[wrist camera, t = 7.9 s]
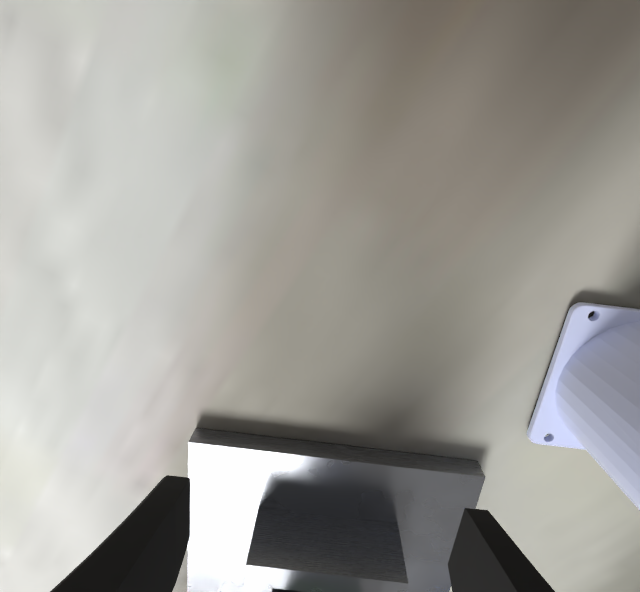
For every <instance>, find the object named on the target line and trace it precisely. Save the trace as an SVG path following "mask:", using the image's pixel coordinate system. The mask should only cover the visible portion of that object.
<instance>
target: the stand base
mask: <svg viewBox="0 0 640 592" xmlns="http://www.w3.org/2000/svg"><path fill="white" fill-rule="evenodd" d="M188 478H190V538H189V542H188V579H187V592H449V590H450V587H451V580H450V575H449V570H448V561H449V558H450V555H451V551H452V548H453V545H454V542H455V538H456V535H457V532H458V528H459V525H460V522H461V519H462V515H463V512H464V509H465V508H470V509H475V508H476V505H477V502H478V499H479V495H480V492H481V489H482V486H483V483H484V480H485V475H484V473H483V471H482V469H481V467H480V465H479V463H478V461H474V460H465V459H457V458H448V457H440V456H431V455H423V454H414V453H406V452H397V451H389V450H380V449H371V448H363V447H354V446H346V445H337V444H329V443H320V442H312V441H303V440H295V439H286V438H278V437H269V436H261V435H252V434H244V433H235V432H226V431H218V430H209V429H201V428H196V429H195V431H194V433H193V434H192V436H191V438H190V440H189V442H188Z"/></svg>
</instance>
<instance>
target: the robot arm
mask: <svg viewBox="0 0 640 592" xmlns="http://www.w3.org/2000/svg"><path fill="white" fill-rule="evenodd" d="M592 311H594V314H593V316H592V317H590V318H588V315H589V313H590V312H592ZM547 434H549V435H548V436H547V437H544V436H545V435H547ZM527 436H528V438H529V439H530V441H532V442H533V443H536V444H543V445H551V446H560V447H568V448H577V449H585V450H587V451H588V452H589V454H590V455H591V456H592V457H593V458H594V459H595V460H596V461H597V463H598V464H599V465H600V466H601V467H602V468H603V469H604V470H605V472H606V473H607V474H608V475H609V476H610V477H611V478H612V480H613V481H614V482H615V483H616V484H617V485H618V486H619V487H620V489H621V490H622V491H623V492H624V493H625V494H626V495H627V496H628V498H629V499H630V500H631V501H632V502H633V503H634V504H635V506H636V507H637V508H638V509H639V510H640V309H634V308H626V307H617V306H609V305H601V304H592V303H584V302H579V303H576V304H574V305H573V306H571V308H570V309H569V311H568V314H567V317H566V320H565V323H564V326H563V329H562V332H561V335H560V337H559V340H558V343H557V346H556V349H555V352H554V355H553V358H552V361H551V364H550V366H549V369H548V372H547V375H546V378H545V381H544V384H543V387H542V390H541V393H540V396H539V398H538V401H537V404H536V407H535V410H534V413H533V416H532V419H531V422H530V425H529V428H528V430H527ZM189 538H190V478H186V477H177V476H166V477H164V478H163V479H162V480H161V481H160V482H159V483H158V484H157V486H156V487H155V488H154V489H153V490H152V491H151V492H150V493H149V494H148V496H147V497H146V498H145V499H144V500H143V501H142V502H141V503H140V504H139V505H138V506H137V508H136V509H135V510H134V511H133V512H132V513H131V514H130V515H129V516H128V517H127V518H126V519H125V520H124V521H123V522H122V523H121V524H120V525H119V526H118V527H117V528H116V529H115V530H114V531H113V532H112V533H111V534H110V535H109V536H108V537H107V538H106V539H105V540H104V541H103V542H102V543H101V544H100V545H99V546H98V548H96V549H95V550H94V551H93V552H92V553H91V554H90V555H89V556H88V557H87V558H86V559H85V560H84V561H83V562H82V563H81V564H80V565H79V566H77V567H76V568H75V569H74V570H73V571H72V572H71V573H70V574H69V575H68V576H67V577H66V578H65V579H64V580H62V581H61V582H60V583H59V584H58V585H57V586H56V587H55V588H54V589H53V590H52V591H50V592H172V591H173V588H174V586H175V583H176V580H177V577H178V574H179V571H180V568H181V565H182V561H183V558H184V555H185V551H186V548H187V545H188V542H189ZM448 570H449V575H450V580H451V586H452V591H453V592H555V591H554V590H553V589H552V588H551V587H550V585H549V584H548V583H547V582H546V581H545V579H544V578H543V577H542V576H541V575H540V573H539V572H538V571H537V570H536V569H535V567H534V566H533V565H532V564H531V563H530V561H529V560H528V559H527V558H526V557H525V555H524V554H523V553H522V552H521V550H520V549H519V548H518V547H517V546H516V544H515V543H514V542H513V541H512V539H511V538H510V537H509V536H508V534H507V533H506V532H505V531H504V529H503V528H502V527H501V526H500V525H499V523H498V522H497V521H496V520H495V518H494V517H493V516H492V515H491V514H490V512H489V511H488V510H479V509H470V508H465V509H464V512H463V515H462V519H461V522H460V525H459V528H458V532H457V535H456V538H455V542H454V545H453V548H452V551H451V555H450V558H449V561H448Z"/></svg>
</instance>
